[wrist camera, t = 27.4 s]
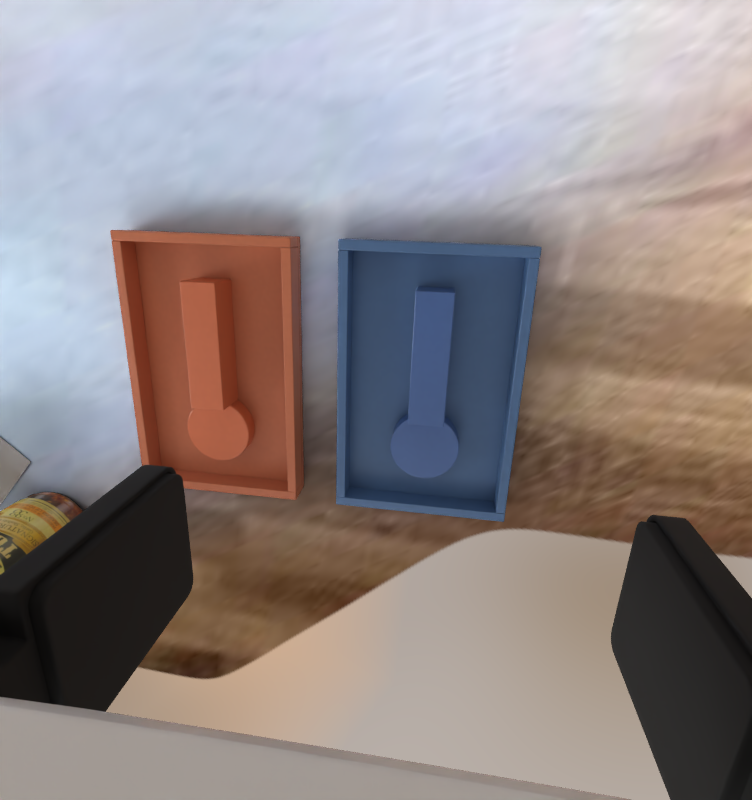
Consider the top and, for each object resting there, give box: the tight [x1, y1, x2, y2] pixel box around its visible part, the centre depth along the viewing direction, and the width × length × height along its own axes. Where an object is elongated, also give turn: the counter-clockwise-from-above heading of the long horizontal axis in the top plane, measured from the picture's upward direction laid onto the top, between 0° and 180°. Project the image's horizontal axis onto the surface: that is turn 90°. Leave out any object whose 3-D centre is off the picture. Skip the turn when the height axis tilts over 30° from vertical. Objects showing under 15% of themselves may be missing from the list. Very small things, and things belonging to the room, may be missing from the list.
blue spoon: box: [390, 286, 459, 478], centre depth 30 cm, size 12×4×2 cm, turn 178°
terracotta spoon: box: [180, 278, 255, 460], centre depth 32 cm, size 12×4×2 cm, turn 178°
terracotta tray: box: [110, 230, 304, 500], centre depth 33 cm, size 17×11×2 cm, turn 178°
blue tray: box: [336, 238, 541, 522], centre depth 31 cm, size 17×11×2 cm, turn 178°
